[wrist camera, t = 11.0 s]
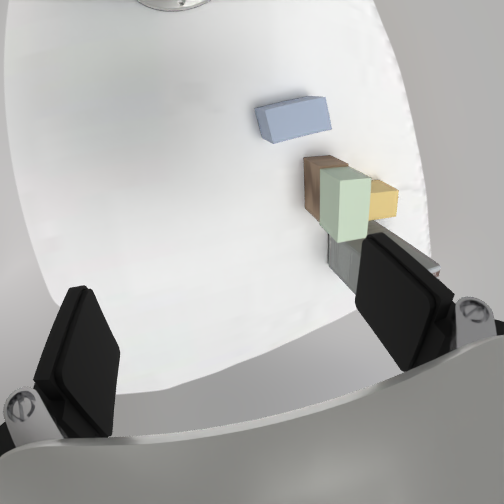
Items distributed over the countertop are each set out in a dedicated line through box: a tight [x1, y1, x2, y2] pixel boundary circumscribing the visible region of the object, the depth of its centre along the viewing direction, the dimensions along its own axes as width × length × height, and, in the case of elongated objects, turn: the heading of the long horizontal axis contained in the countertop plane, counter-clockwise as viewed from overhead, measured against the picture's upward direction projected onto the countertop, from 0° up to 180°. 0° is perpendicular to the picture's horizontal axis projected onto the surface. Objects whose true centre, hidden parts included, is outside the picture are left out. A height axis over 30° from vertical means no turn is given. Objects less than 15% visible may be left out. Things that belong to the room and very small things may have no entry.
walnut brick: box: [304, 155, 348, 222], centre depth 37 cm, size 7×4×5 cm, turn 5°
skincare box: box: [329, 220, 441, 295], centre depth 38 cm, size 8×7×16 cm
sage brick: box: [320, 166, 371, 243], centre depth 33 cm, size 7×4×5 cm, turn 5°
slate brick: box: [255, 96, 332, 144], centre depth 32 cm, size 7×4×5 cm, turn 105°
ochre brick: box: [368, 180, 399, 221], centre depth 39 cm, size 7×4×5 cm, turn 95°
